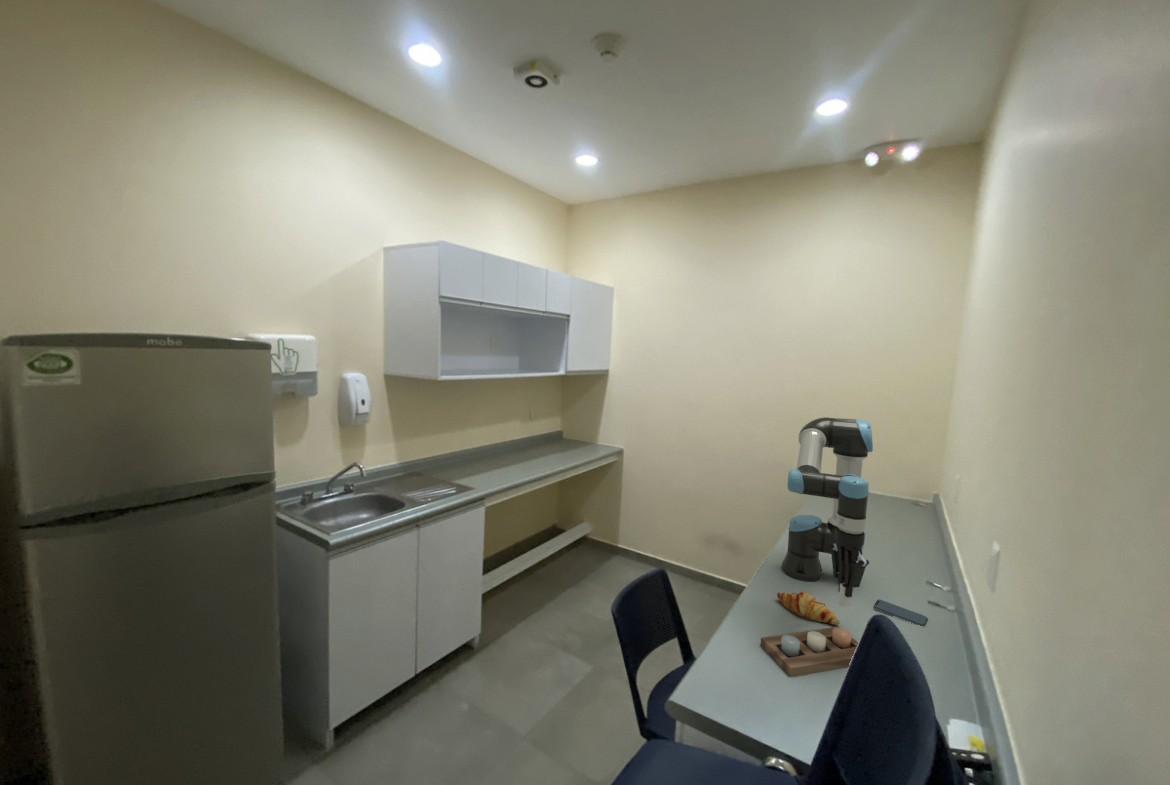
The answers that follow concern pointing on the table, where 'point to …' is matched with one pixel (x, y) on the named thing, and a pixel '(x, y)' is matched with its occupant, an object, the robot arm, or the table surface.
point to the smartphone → (900, 612)
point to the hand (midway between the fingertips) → (844, 605)
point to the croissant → (808, 607)
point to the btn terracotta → (841, 638)
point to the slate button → (790, 645)
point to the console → (809, 653)
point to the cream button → (816, 641)
